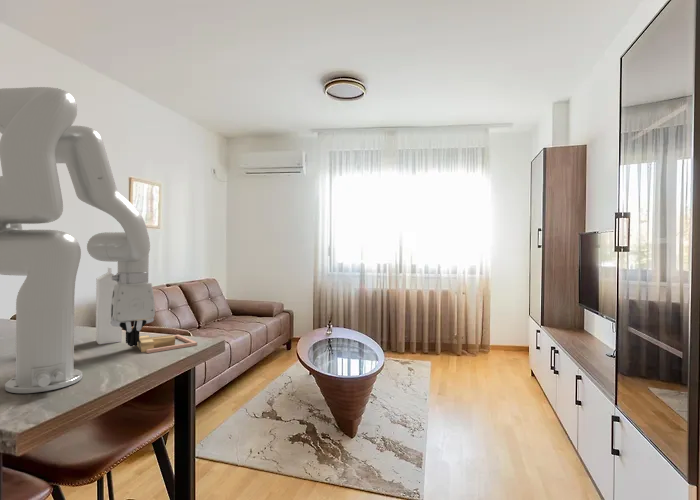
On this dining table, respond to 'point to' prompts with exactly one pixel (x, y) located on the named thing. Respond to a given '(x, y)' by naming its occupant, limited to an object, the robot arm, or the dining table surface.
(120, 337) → the milk
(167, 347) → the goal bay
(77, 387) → the dining table surface
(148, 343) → the t block
